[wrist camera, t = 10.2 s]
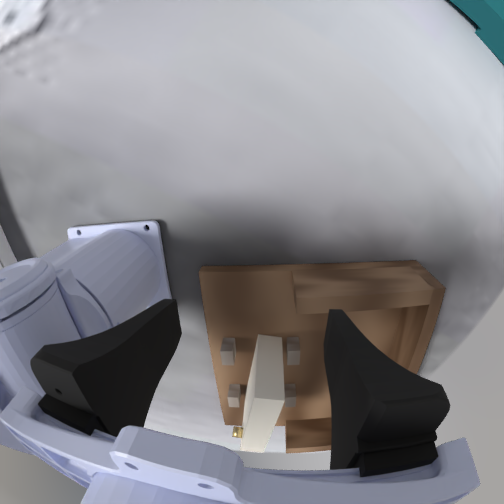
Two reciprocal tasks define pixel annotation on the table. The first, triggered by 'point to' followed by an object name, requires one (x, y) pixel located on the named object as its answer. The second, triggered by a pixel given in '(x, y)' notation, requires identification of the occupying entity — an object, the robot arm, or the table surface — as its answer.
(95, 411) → the robot arm
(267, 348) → the door
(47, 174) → the table surface
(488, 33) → the teal l-shaped bracket
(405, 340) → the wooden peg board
